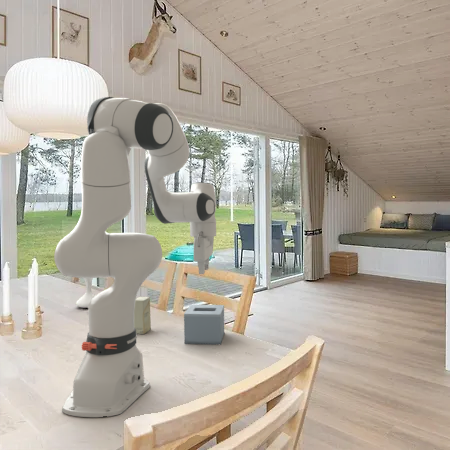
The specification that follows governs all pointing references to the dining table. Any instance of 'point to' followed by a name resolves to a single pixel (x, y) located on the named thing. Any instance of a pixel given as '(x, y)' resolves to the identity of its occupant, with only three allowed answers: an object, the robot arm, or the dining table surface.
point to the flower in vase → (86, 295)
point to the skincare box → (142, 315)
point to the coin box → (204, 324)
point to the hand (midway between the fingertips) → (203, 271)
